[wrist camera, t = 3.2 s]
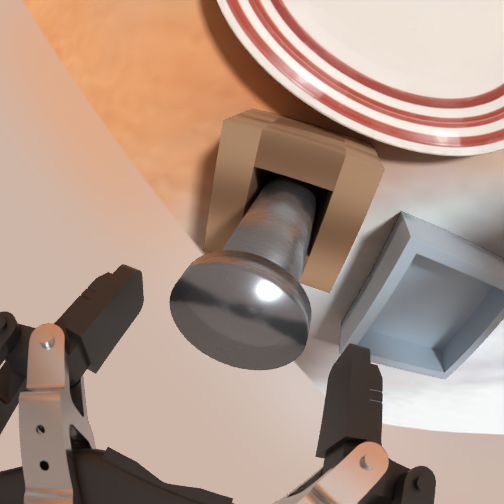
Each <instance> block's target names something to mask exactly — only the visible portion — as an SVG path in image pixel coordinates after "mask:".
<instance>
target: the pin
mask: <svg viewBox="0 0 504 504" xmlns="http://www.w3.org/2000/svg"><path fill="white" fill-rule="evenodd" d="M319 190H320V187H319V186H316V185H313V184H310V183H307V182H304V181H301V180H297V179H294V178H291V177H288V176H285V175H281V174H278V173H275V172H274V173H273V174H272V176H271V177H270V179H269V180H268V182H267V183H266V184H265V186H264V187H263V189H262V190H261V192H260V193H259V195H258V196H257V198H256V199H255V201H254V202H253V204H252V205H251V207H250V208H249V210H248V211H247V213H246V214H245V216H244V217H243V219H242V220H241V222H240V223H239V225H238V227H237V228H236V230H235V231H234V233H233V234H232V236H231V237H230V239H229V240H228V242H227V243H226V245H225V246H224V248H223V249H222V251H216V252H211V253H208V254H206V255H203V256H201V257H199V258H198V259H196V260H195V261H194V262H192V263H191V265H190V266H189V267H188V268H187V269H186V271H185V272H184V273H183V275H182V276H181V278H180V279H179V280H178V282H177V283H176V284H175V286H174V288H173V290H172V292H171V296H170V310H171V314H172V317H173V320H174V322H175V324H176V325H177V327H178V328H179V330H180V332H181V333H182V334H183V335H184V337H185V338H186V339H187V340H188V341H189V342H190V343H191V344H192V345H194V346H195V347H196V348H197V349H199V350H200V351H201V352H203V353H204V354H206V355H208V356H209V357H211V358H213V359H215V360H217V361H219V362H222V363H224V364H228V365H230V366H234V367H238V368H242V369H250V370H269V369H274V368H279V367H282V366H284V365H287V364H289V363H291V362H292V361H294V360H295V359H296V358H297V357H298V356H299V355H300V354H301V353H302V351H303V350H304V348H305V345H306V342H307V337H308V332H309V327H310V321H311V306H310V302H309V299H308V297H307V295H306V293H305V291H304V289H303V288H302V286H301V285H300V280H301V276H302V272H303V267H304V263H305V258H306V254H307V249H308V245H309V240H310V235H311V230H312V226H313V221H314V216H315V211H316V206H317V201H318V195H319Z"/></svg>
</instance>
